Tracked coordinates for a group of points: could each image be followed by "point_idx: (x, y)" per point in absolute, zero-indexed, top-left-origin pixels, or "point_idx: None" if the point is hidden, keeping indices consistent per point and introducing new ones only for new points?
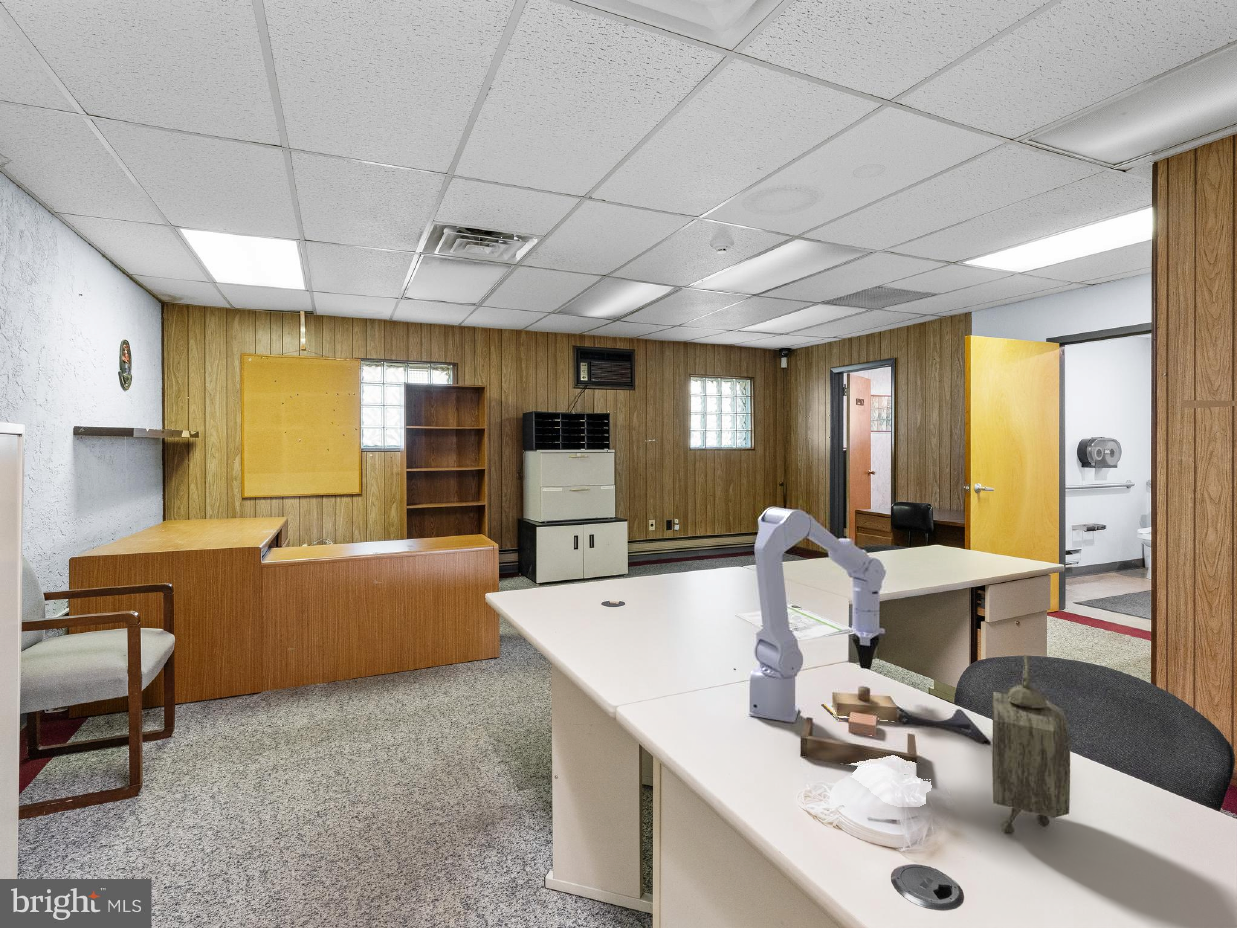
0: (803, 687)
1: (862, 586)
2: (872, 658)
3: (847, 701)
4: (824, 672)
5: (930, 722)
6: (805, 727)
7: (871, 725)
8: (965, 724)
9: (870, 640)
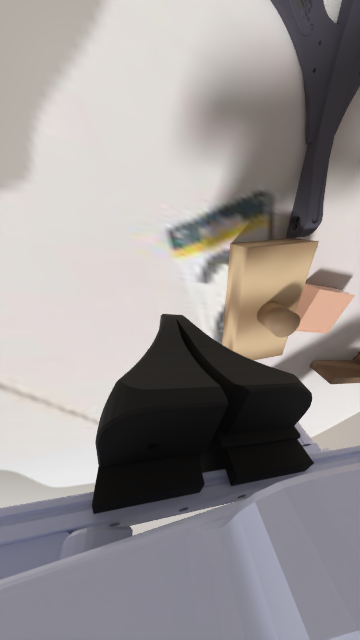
0: None
1: None
2: (204, 333)
3: (277, 340)
4: (28, 368)
5: (331, 145)
6: (356, 381)
7: (349, 301)
8: None
9: (291, 435)
